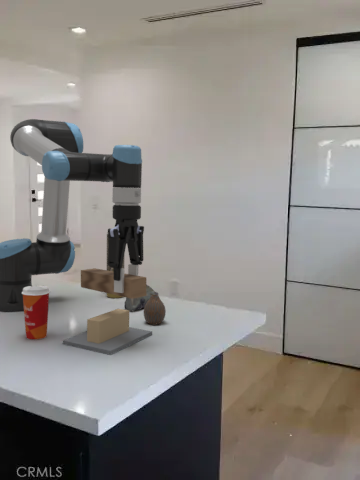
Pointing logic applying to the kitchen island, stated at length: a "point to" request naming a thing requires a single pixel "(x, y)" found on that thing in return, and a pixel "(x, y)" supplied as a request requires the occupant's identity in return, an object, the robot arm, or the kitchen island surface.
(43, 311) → the paper cup
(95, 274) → the walnut bar
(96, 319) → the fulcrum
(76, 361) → the kitchen island surface
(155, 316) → the vase
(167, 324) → the kitchen island surface
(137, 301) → the mineral rock
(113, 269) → the paper tube
